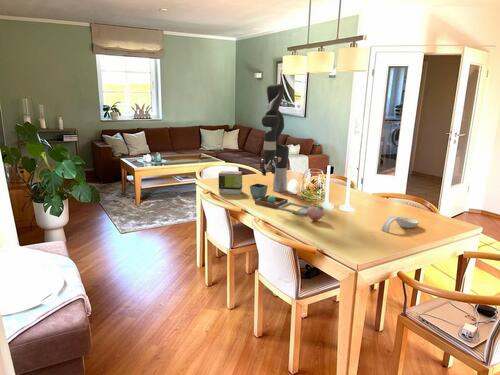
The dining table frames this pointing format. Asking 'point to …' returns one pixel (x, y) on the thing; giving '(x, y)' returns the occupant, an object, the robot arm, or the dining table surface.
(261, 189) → the flower pot
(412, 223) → the spoon rest
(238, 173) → the retro computer monitor
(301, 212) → the tray
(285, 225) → the dining table surface
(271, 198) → the ball
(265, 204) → the walnut box
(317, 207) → the decorative fruit
